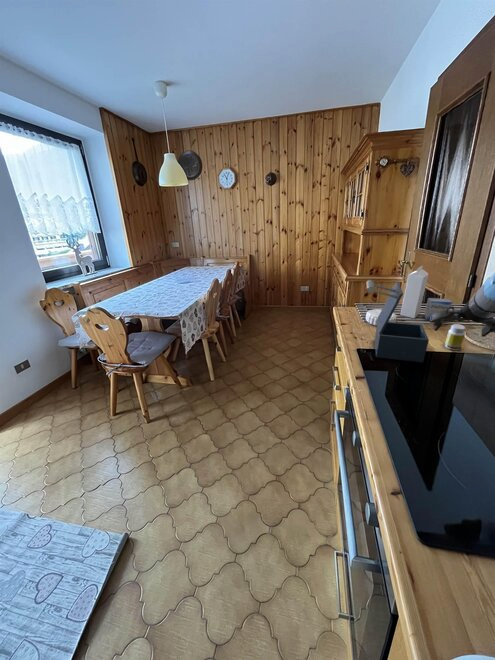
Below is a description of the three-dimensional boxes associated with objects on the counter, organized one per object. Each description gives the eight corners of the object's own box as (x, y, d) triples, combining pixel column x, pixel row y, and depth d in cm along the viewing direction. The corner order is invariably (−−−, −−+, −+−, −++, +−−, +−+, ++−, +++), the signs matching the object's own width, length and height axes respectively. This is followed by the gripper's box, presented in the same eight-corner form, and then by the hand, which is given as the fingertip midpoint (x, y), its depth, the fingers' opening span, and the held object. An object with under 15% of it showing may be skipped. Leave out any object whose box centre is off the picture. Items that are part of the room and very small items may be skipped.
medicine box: (426, 319, 123) (430, 301, 119) (423, 315, 127) (428, 297, 123) (447, 321, 121) (452, 302, 117) (443, 316, 124) (449, 298, 120)
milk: (419, 314, 128) (431, 266, 118) (414, 318, 125) (425, 269, 114) (405, 310, 132) (415, 264, 122) (399, 315, 129) (410, 267, 118)
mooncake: (376, 328, 119) (377, 321, 117) (360, 317, 129) (361, 310, 127) (401, 324, 120) (403, 316, 119) (383, 313, 131) (385, 306, 129)
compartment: (416, 345, 105) (422, 324, 101) (422, 362, 95) (428, 340, 91) (374, 341, 110) (377, 320, 106) (376, 357, 100) (379, 335, 96)
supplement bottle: (463, 350, 100) (470, 329, 97) (449, 350, 101) (456, 329, 97) (454, 343, 105) (461, 323, 101) (441, 344, 105) (447, 323, 101)
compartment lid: (398, 282, 97) (369, 273, 99) (403, 293, 88) (370, 284, 89) (379, 320, 105) (351, 311, 107) (381, 334, 96) (351, 324, 98)
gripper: (543, 298, 75) (504, 324, 93) (433, 290, 84) (418, 315, 103) (543, 324, 73) (503, 346, 92) (430, 313, 83) (416, 334, 101)
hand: (458, 330), depth 98 cm, fingers open, 13 cm apart
